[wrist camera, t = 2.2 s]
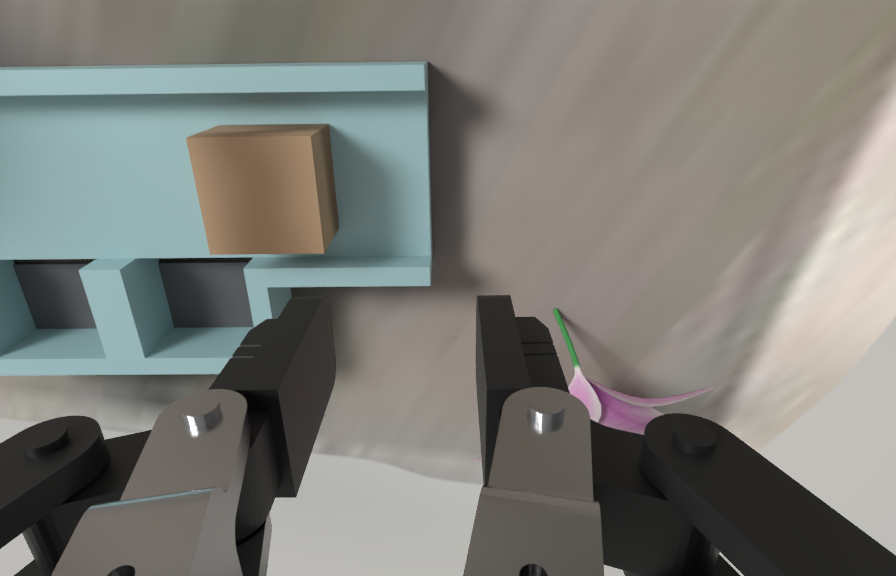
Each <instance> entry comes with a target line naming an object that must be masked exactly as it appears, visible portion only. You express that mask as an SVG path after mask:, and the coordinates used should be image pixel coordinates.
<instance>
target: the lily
mask: <svg viewBox="0 0 896 576" xmlns="http://www.w3.org/2000/svg"><path fill="white" fill-rule="evenodd" d="M553 312H554V315H555V317H556V319H557V322H558V324H559V326H560V329H561V331H562V334H563V336H564V339H565V341H566V344H567V346H568V349H569V352H570V355H571V358H572V362H573V365H574V369H575V374H574V377H573V380H572V381H571V383H570V385H569V386H568V389H569V392H570V394H572V395H574V396H575V397H577V398H578V399H579V400H581V401H582V402H583V403H584V405H585V406H586V407H587V409H588V411H589V415H590V419H592V420H593V421H595V422H597V423H600V424H602V425H605V426H607V427H611V428H615V429H619V430H623V431H628V432H633V433H638V434H642V435H644V430H645V427H646V425H647V424H648V423H649V422H650V421H651V420H652V419H654V418H655V417H658V416H660V415H665V414H663V413H661V412H659V411H657V410H656V409H654V408H653V407H654V406H664V405H668V404H672V403H677V402H680V401H683V400H686V399H689V398H692V397H695V396H697V395H700V394H702V393H705V392H707V391H709V390H711V389H713V388H715V387H716V386H715V387H711V388H707V389H703V390H699V391H695V392H691V393H686V394H681V395H677V396H672V397H664V398H656V399H654V398H639V397H634V396H629V395H626V394H623V393H620V392H617V391H614V390H612V389H610V388H607V387H605V386H603V385H601V384H599V383H597V382H595V381H593V380H591V379H589V378H587V377H586V376H585V375H584V374H583V373H582V370H581V367H580V364H579V361H578V358H577V356H576V353H575V350H574V347H573V344H572V342H571V339H570V337H569V334H568V332H567V330H566V327H565V325H564V322H563V320H562V318H561V315H560V313H559V311H558V309H554V310H553ZM468 461H482V457H478V458H475V459H472V460H468Z"/></svg>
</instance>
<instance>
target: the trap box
mask: <svg viewBox="0 0 896 576" xmlns="http://www.w3.org/2000/svg"><path fill="white" fill-rule="evenodd" d="M255 124H329V131H330V141H331V151H332V161H333V171H334V181H335V191H336V201H337V211H338V221H339V229H338V231H337V233H336V235H335V236H334V238H333V240H332V241H331V243H330V245H329V246H328V248H327V250H326V251H325V253H324V254H234V255H210V252H209V247H208V242H207V237H206V233H205V228H204V223H203V218H202V213H201V209H200V204H199V199H198V194H197V189H196V185H195V180H194V175H193V170H192V165H191V161H190V156H189V151H188V146H187V141H186V137H189V136H191V135H194V134H197V133H199V132H202V131H205V130H207V129H210V128H213V127H215V126H218V125H255ZM237 257H253V258H252V260H251V261H217V262H160V261H159V258H237ZM26 259H96V260H94V261H93V262H91V263H15V261H14V260H26ZM432 261H433V253H432V214H431V176H430V137H429V99H428V61H415V62H339V63H263V64H188V65H112V66H36V67H0V376H14V375H153V374H220V372H221V371H222V369H223V368H224V367H225V365H226V364H227V362H228V361H229V359H230V358H232V355H233V354H234V352H235V351H236V349H237V348H238V347H240V343H241V342H242V341H243V339H244V338H245V336H246V335H247V333H248V332H249V330H251V329H252V328H254V327H255V326H257V325H258V324H260V323H261V322H263V321H264V320H266V319H278V317H279V316H280V314H281V312H282V311H283V309H284V308H285V306H286V304H287V303H288V301H289V300H290V298H291V297H292V294H291V287H370V286H430V285H431V273H432Z"/></svg>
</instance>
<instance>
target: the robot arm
mask: <svg viewBox="0 0 896 576" xmlns="http://www.w3.org/2000/svg"><path fill="white" fill-rule="evenodd" d="M335 374H336V359H335V349H334V341H333V332H332V323H331V315H330V307H329V302H328V299H327V298H326V297H291V298H290V300H289V301H288V303H287V304H286V306H285V308H284V309H283V311H282V312H281V314H280V316H279V317H278V319H266V320H264V321H263V322H261V323H260V324H258V325H257V326H255V327H254V328H252V329H251V330H249V332H248V333H247V335H246V336H245V338H244V339H243V341H242V342H241V343H240V347H238V348H237V349H236V351H235V352H234V354H233V355H232V358H230V359H229V361H228V362H227V364H226V365H225V367H224V368H223V369H222V371H221V372H220V374H219V375H218V377H217V378H216V380H215V381H214V382H213V384H212V385H211V387H210V388H209V390H205V391H200V392H196V393H193V394H190V395H187V396H185V397H183V398H181V399H179V400H177V401H175V402H174V403H172V404H171V405H169V406H168V407H167V408H166V409H164V410H163V411H162V413H161V414H160V415H159V416H158V418H157V420H156V422H155V424H154V426H153V429H152V430H149V431H145V432H140V433H135V434H131V435H126V436H121V437H116V438H111V439H106V440H104V437H103V434H102V431H101V428H100V426H99V424H98V422H97V421H96V420H94V419H92V418H90V417H85V416H66V417H60V418H55V419H51V420H48V421H44V422H42V423H39V424H36V425H34V426H31V427H29V428H27V429H25V430H23V431H21V432H19V433H18V434H16V435H14V436H13V437H11V438H9V439H7V440H6V441H4V442H2V443H0V549H1V548H2V547H3V546H5V545H6V544H7V543H9V542H10V541H11V540H13V539H14V538H15V537H17V536H18V535H20V534H21V533H23V535H24V538H25V540H26V542H27V544H28V546H29V548H30V550H31V553H32V554H33V557H34V560H33V561H32V562H31V563H29V564H28V565H27V566H26V567H24V568H23V569H22V570H20V571H19V572H18V573H17V574H16V575H14V576H266V574H267V565H268V557H269V548H270V539H271V532H272V525H271V519H270V515H269V512H270V510H271V507H272V504H273V502H274V499H275V497H296V496H297V493H298V490H299V487H300V484H301V481H302V478H303V475H304V472H305V469H306V466H307V463H308V460H309V457H310V454H311V452H312V449H313V446H314V443H315V440H316V437H317V434H318V431H319V428H320V425H321V422H322V419H323V416H324V413H325V410H326V407H327V404H328V401H329V398H330V395H331V393H332V390H333V386H334V382H335ZM476 385H477V399H478V413H479V427H480V441H481V455H482V468H483V482H484V485H483V486H482V489H481V493H480V497H479V501H478V506H477V511H476V516H475V521H474V526H473V531H472V536H471V541H470V545H469V550H468V555H467V561H466V565H465V570H464V575H463V576H604V565H608V566H611V567H615V568H618V569H622V570H623V571H624V574H625V576H740V575H739V574H738V573H737V572H736V571H735V570H734V569H733V568H732V567H731V566H730V565H729V564H728V563H727V562H726V561H725V560H724V559H723V558H722V557H721V556H720V555H719V552H721V553H722V554H723V555H724V556H725V557H726V558H727V559H728V560H729V561H730V562H731V563H732V564H733V565H734V566H735V567H736V568H737V569H738V570H739V571H740V572H741V573H742V574H743V575H744V576H896V556H895V555H894V554H893V553H891V552H890V551H889V550H887V549H886V548H885V547H883V546H882V545H880V544H879V543H878V542H877V541H875V540H874V539H872V538H871V537H870V536H868V535H867V534H866V533H865V532H863V531H862V530H861V529H859V528H858V527H857V526H855V525H854V524H852V523H851V522H850V521H848V520H847V519H846V518H844V517H843V516H842V515H840V514H839V513H838V512H837V511H835V510H834V509H832V508H831V507H830V506H828V505H827V504H826V503H824V502H823V501H822V500H820V499H819V498H818V497H816V496H815V495H814V494H812V493H811V492H810V491H808V490H807V489H806V488H804V487H803V486H802V485H800V484H799V483H798V482H796V481H795V480H794V479H792V478H791V477H790V476H788V475H787V474H786V473H784V472H783V471H782V470H780V469H779V468H778V467H776V466H775V465H774V464H772V463H771V462H770V461H768V460H767V459H766V458H764V457H763V456H762V455H760V454H759V453H758V452H756V451H755V450H754V449H752V448H751V447H750V446H748V445H747V444H746V443H744V442H743V441H742V440H740V439H739V438H738V437H736V436H735V435H734V434H732V433H731V432H729V431H728V430H727V429H725V428H724V427H722V426H720V425H718V424H717V423H715V422H712V421H710V420H708V419H705V418H702V417H698V416H694V415H689V414H678V413H673V414H665V415H660V416H658V417H655V418H654V419H652V420H651V421H650V422H649V423H648V424H647V425H646V427H645V430H644V435H642V434H638V433H633V432H628V431H623V430H619V429H615V428H611V427H607V426H605V425H602V424H600V423H597V422H595V421H593V420H592V419H590V415H589V411H588V409H587V407H586V406H585V405H584V403H583V402H582V401H581V400H579V399H578V398H577V397H575V396H574V395H572V394H570V392H569V389H568V386H567V383H566V380H565V377H564V374H563V371H562V368H561V365H560V362H559V359H558V356H557V353H556V350H555V347H554V345H553V341H552V338H551V335H550V332H549V329H548V328H547V327H546V326H545V325H544V324H542V323H541V322H540V321H539V320H538V319H537V318H535V317H515V314H514V310H513V305H512V301H511V297H510V295H488V296H477V304H476ZM603 564H604V565H603Z"/></svg>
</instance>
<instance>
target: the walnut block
mask: <svg viewBox="0 0 896 576" xmlns="http://www.w3.org/2000/svg"><path fill="white" fill-rule="evenodd" d="M186 141H187V146H188V151H189V156H190V161H191V165H192V170H193V175H194V180H195V185H196V189H197V194H198V199H199V204H200V209H201V213H202V218H203V223H204V228H205V233H206V237H207V242H208V247H209V252H210V255H234V254H324V253H325V251H326V250H327V248H328V246H329V245H330V243H331V241H332V240H333V238H334V236H335V235H336V233H337V231H338V229H339V221H338V211H337V201H336V191H335V181H334V171H333V161H332V151H331V141H330V131H329V124H255V125H218V126H215V127H213V128H210V129H207V130H205V131H202V132H199V133H197V134H194V135H191V136H189V137H186Z"/></svg>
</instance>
